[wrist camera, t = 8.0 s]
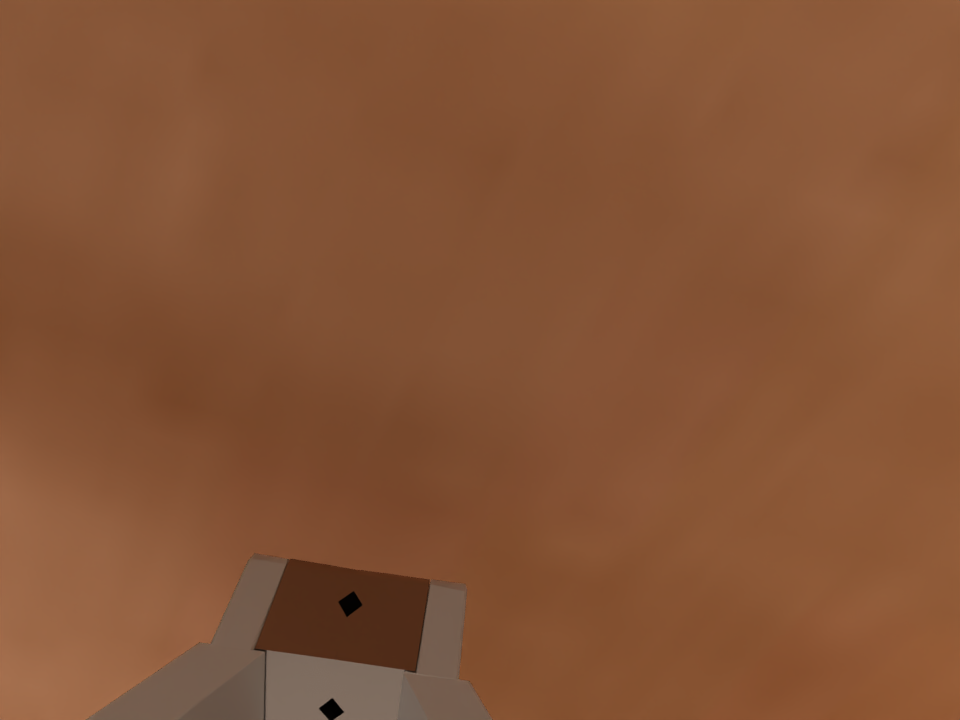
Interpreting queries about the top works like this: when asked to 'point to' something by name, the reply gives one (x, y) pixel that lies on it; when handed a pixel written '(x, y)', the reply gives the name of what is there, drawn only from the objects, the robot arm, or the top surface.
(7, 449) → the top surface
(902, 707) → the top surface
